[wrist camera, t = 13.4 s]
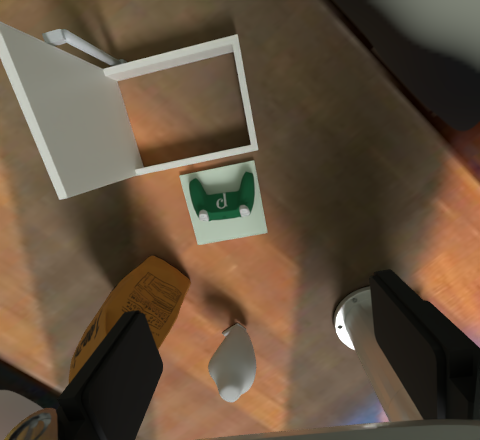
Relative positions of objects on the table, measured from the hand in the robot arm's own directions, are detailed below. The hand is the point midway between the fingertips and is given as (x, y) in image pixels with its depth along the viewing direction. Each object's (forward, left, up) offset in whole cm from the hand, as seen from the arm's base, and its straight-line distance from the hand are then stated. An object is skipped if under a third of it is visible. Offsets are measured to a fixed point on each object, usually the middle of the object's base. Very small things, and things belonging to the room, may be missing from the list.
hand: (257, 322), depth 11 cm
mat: (+5, +1, -29) cm, 30 cm away
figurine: (+8, +24, -30) cm, 39 cm away
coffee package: (+20, +13, -30) cm, 38 cm away
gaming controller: (+4, 0, -29) cm, 29 cm away
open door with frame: (+7, -13, -29) cm, 33 cm away
